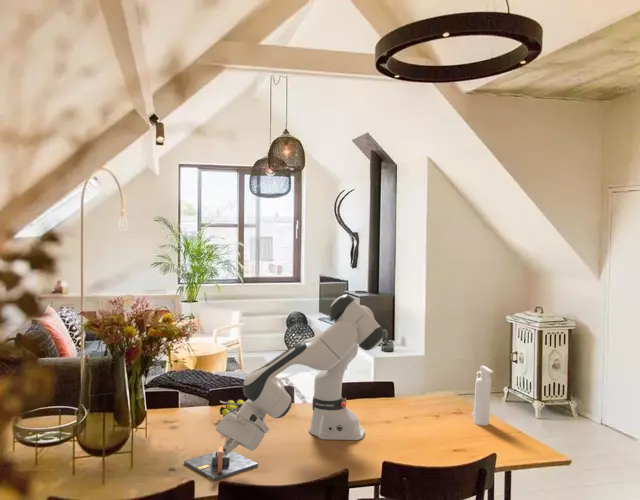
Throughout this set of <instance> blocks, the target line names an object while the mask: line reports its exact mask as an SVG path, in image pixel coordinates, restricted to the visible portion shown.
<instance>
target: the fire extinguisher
mask: <svg viewBox="0 0 640 500" xmlns="http://www.w3.org/2000/svg"><path fill="white" fill-rule="evenodd" d="M479 374H480V377H479ZM490 374H491V375H492V374H494V370H492V369H490V368H489V367H487V366H486V365H480V367H479V371H477V372H476V375H475V376H476V377H475V384H474V385H475V386H474V404H473V405H474V406H473V411H472V413H471V418H473V423H474V424H475V425H478V426H485V427H486V426H489V424H490V409H491V406H490V405H491V404H490V403H491V390H492V389H491V384H492V378H491V375H490Z"/></svg>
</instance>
